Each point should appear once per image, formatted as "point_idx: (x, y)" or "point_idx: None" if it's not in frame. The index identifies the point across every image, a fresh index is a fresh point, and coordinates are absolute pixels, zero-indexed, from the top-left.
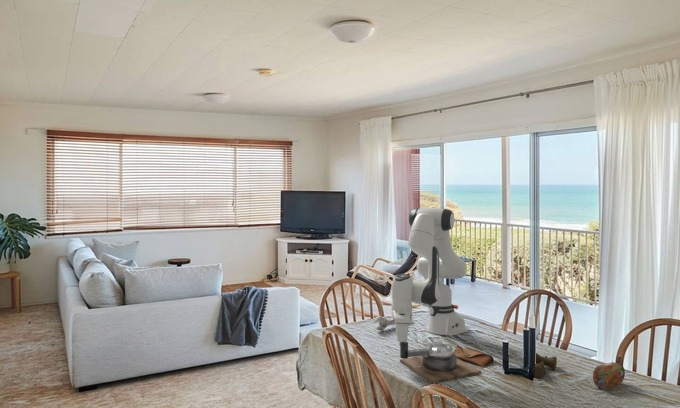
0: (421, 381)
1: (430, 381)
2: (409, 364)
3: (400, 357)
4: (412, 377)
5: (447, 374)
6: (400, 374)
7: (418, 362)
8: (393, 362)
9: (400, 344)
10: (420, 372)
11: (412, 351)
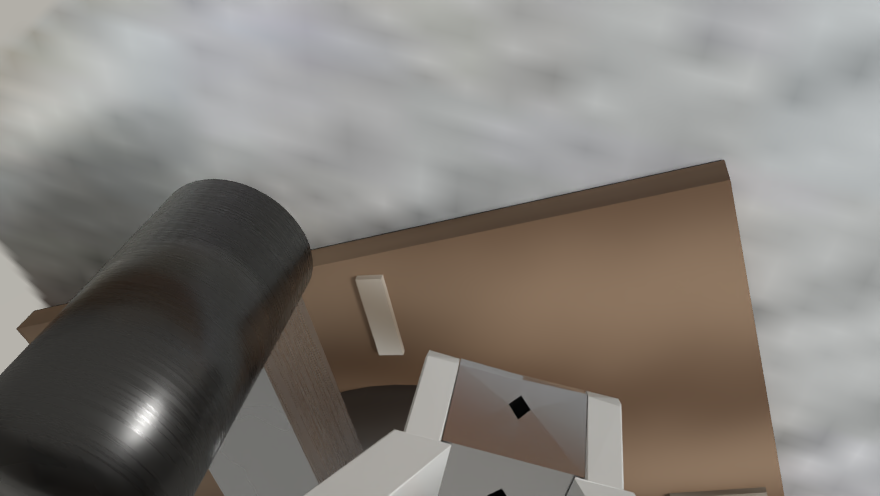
0: (57, 232)
1: (51, 311)
2: (493, 258)
3: (209, 180)
4: (146, 172)
5: (208, 485)
6: (218, 40)
7: (549, 377)
8: (738, 47)
9: (22, 391)
10: None
11: (221, 451)
